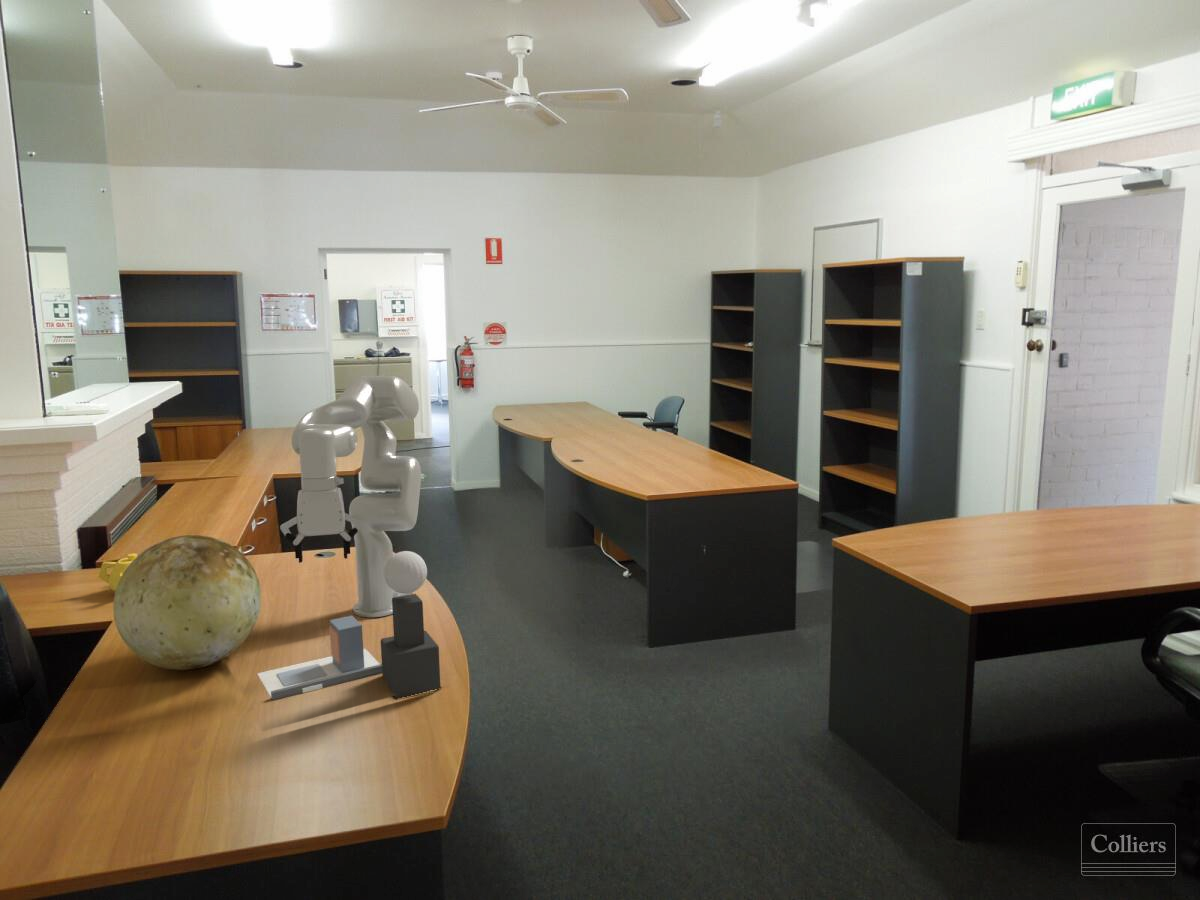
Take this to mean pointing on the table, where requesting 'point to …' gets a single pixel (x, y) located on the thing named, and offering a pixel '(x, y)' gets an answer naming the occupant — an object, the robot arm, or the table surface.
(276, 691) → the shelf board
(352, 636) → the box
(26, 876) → the table surface
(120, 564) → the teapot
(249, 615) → the speckled stone ball
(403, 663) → the sculpture
